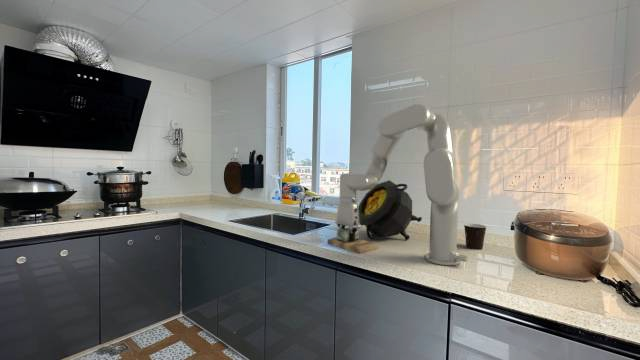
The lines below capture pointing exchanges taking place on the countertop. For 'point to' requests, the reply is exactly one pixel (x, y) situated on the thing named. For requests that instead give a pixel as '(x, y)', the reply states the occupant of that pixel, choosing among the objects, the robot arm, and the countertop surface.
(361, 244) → the oak board
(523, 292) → the countertop surface
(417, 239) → the countertop surface
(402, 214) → the black cauldron
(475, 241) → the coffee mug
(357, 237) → the sanding block
